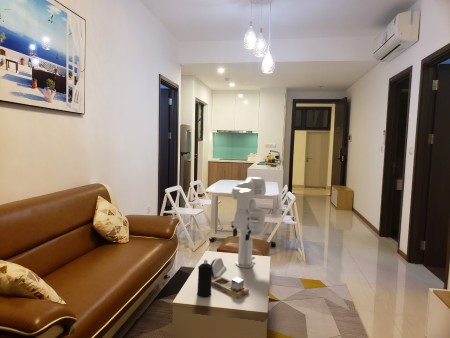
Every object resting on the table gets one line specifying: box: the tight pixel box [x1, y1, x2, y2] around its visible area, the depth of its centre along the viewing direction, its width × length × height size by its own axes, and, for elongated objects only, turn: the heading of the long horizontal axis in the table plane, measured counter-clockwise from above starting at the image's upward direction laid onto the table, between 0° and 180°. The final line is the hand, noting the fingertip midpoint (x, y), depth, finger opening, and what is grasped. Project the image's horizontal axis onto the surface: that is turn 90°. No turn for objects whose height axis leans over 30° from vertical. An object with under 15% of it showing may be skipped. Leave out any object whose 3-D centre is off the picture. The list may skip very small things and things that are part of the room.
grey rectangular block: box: [231, 276, 245, 293], centre depth 178 cm, size 5×5×8 cm
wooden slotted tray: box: [211, 276, 250, 300], centre depth 182 cm, size 9×22×3 cm, turn 48°
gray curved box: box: [209, 257, 228, 279], centre depth 203 cm, size 17×5×10 cm, turn 160°
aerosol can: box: [196, 259, 213, 298], centre depth 174 cm, size 8×8×20 cm
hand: (241, 238), depth 189 cm, fingers open, 9 cm apart
